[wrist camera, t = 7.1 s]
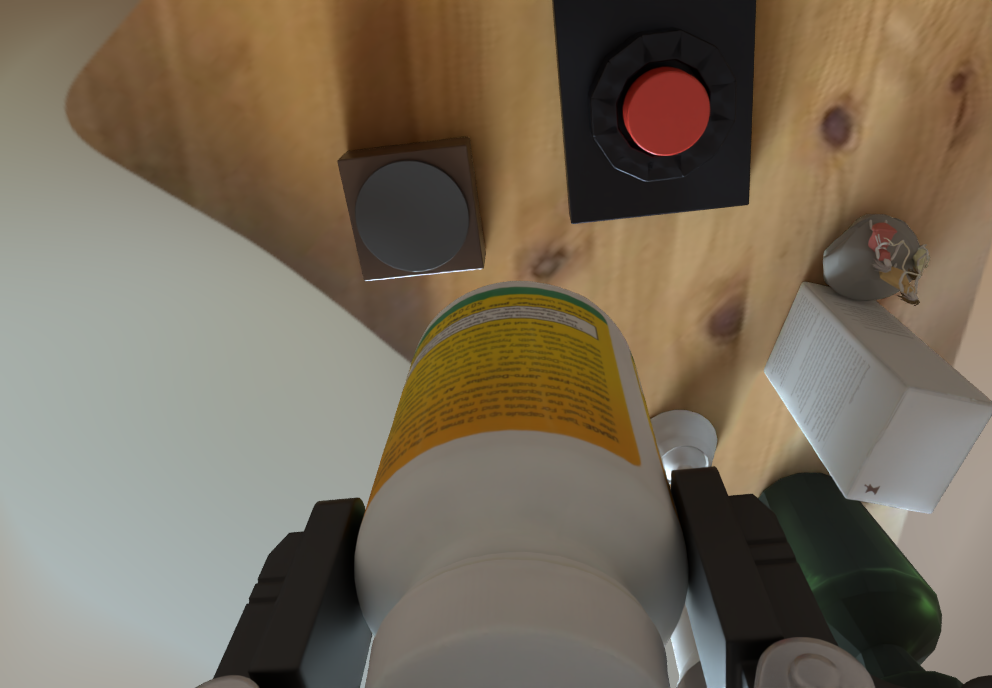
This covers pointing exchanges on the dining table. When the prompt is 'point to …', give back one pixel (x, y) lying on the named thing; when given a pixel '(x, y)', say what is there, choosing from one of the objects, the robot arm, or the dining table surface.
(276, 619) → the robot arm
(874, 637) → the potion bottle
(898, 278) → the figurine
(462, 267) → the stand
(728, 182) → the button housing
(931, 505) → the cosmetic box
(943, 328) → the dining table surface
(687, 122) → the button
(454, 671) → the supplement bottle
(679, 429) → the chalice
